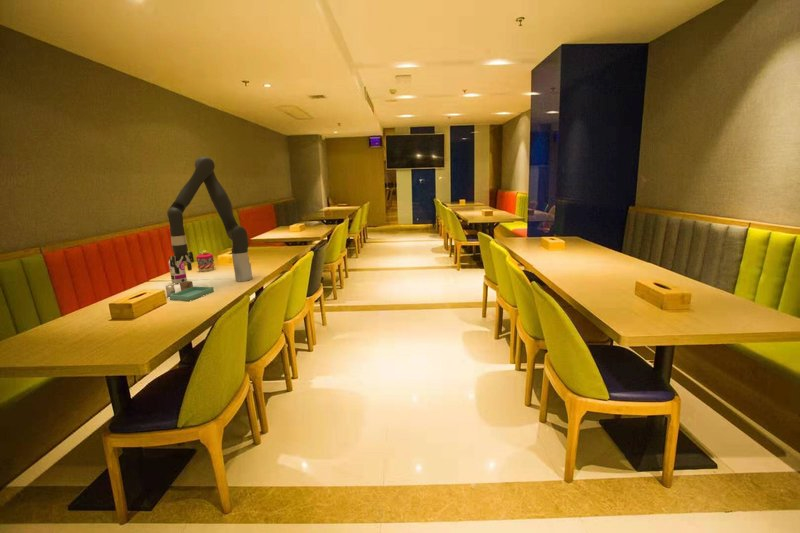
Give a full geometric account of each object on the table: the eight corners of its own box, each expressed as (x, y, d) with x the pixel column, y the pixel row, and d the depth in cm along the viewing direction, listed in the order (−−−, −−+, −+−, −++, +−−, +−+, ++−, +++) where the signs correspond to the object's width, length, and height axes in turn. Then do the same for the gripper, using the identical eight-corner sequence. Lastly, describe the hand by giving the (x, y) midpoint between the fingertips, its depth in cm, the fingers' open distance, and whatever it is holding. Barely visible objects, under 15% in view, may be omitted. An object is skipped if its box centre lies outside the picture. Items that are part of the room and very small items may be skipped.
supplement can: (189, 280, 255) (185, 257, 251) (181, 284, 247) (177, 260, 243) (177, 280, 255) (173, 257, 252) (169, 284, 247) (164, 260, 244)
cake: (218, 269, 282) (215, 248, 279) (204, 272, 274) (200, 251, 270) (209, 268, 288) (206, 247, 284) (195, 271, 279) (191, 250, 276)
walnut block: (187, 289, 235) (186, 281, 234) (193, 289, 233) (192, 281, 232) (181, 291, 231) (179, 283, 229) (187, 292, 229) (186, 283, 228)
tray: (195, 290, 231) (194, 286, 230) (213, 291, 227) (213, 287, 226) (170, 300, 215) (169, 295, 214) (189, 301, 211) (188, 296, 210)
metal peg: (171, 295, 224) (169, 284, 223) (177, 295, 223) (175, 285, 222) (165, 297, 221) (163, 286, 219) (171, 297, 219) (169, 287, 218)
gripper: (174, 246, 218) (178, 275, 221) (194, 241, 231) (198, 269, 235) (163, 245, 220) (168, 274, 224) (184, 241, 233) (188, 269, 237)
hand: (183, 272), depth 229 cm, fingers open, 8 cm apart
